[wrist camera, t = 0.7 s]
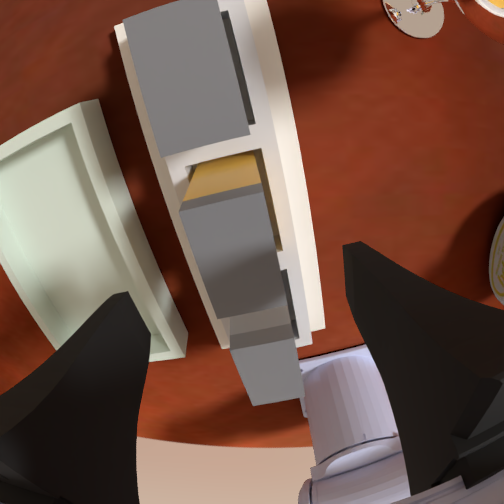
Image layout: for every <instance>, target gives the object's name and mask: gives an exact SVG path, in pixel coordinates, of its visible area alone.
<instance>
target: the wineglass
mask: <svg viewBox="0 0 504 504" xmlns="http://www.w3.org/2000/svg"><path fill="white" fill-rule="evenodd" d="M382 2H383V5H384V8H385V11H386V13H387V15H388V16H389V18H390V19H391V21H392V22H393V23H394V24H395V25H396V26H397V27H398V28H399V29H400V30H401V31H403V32H404V33H406V34H408V35H410V36H412V37H415V38H421V39H424V38H430V37H433V36H434V35H436V34H437V33H438V32H439V31H440V30H441V28H442V26H443V22H444V10H443V6H442V2H451V3H454V4H456V5H457V6H458V7H459V9H460V10H461V11H462V13H463V14H464V15H465V17H466V18H467V19H468V20H469V21H470V22H471V23H472V24H473V25H474V26H475V27H476V28H477V29H478V30H480V31H481V32H482V33H484V34H485V35H486V36H488V37H489V38H491V39H492V40H494V41H496V42H498V43H500V44H503V45H504V0H382Z"/></svg>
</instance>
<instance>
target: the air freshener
mask: <svg viewBox="0 0 504 504" xmlns="http://www.w3.org/2000/svg"><path fill="white" fill-rule="evenodd" d="M489 278H490V284H491V288H492V290H493V292H494V294H495V296H496V298H497V299H498V300H499V301H500V302H501V303H502V304H503V305H504V217H503V219H502V220H501V222H500V224H499V226H498V228H497V230H496V233H495V236H494V239H493V242H492V247H491V251H490V259H489Z"/></svg>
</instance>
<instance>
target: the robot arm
mask: <svg viewBox="0 0 504 504" xmlns="http://www.w3.org/2000/svg"><path fill="white" fill-rule="evenodd" d="M342 247H343V259H344V272H345V287H346V297H347V300H348V303H349V306H350V309H351V312H352V315H353V318H354V320H355V323H356V325H357V327H358V329H359V331H360V333H361V335H362V337H363V339H364V341H365V343H366V344H365V345H362V346H358V347H354V348H350V349H346V350H342V351H338V352H334V353H330V354H326V355H322V356H317V357H313V358H308V359H304V360H299V365H300V370H301V375H302V381H303V386H304V391H305V397H300V402H301V407H302V412H303V416H304V417H306V418H308V422H309V427H310V433H311V438H312V443H313V449H314V454H315V460H316V465H317V466H314V467H311V468H310V469H311V475H312V478H311V479H307V480H306V481H305V482H304V484H303V486H302V488H301V490H300V492H299V498H298V504H504V310H501V309H497V308H494V307H490V306H487V305H484V304H481V303H478V302H475V301H472V300H470V299H467V298H464V297H462V296H459V295H457V294H454V293H452V292H450V291H448V290H445V289H443V288H441V287H439V286H437V285H435V284H432V283H430V282H429V281H427V280H425V279H423V278H421V277H419V276H417V275H415V274H414V273H412V272H410V271H408V270H407V269H405V268H403V267H402V266H400V265H398V264H397V263H395V262H393V261H392V260H390V259H388V258H387V257H385V256H384V255H382V254H380V253H379V252H377V251H376V250H374V249H372V248H371V247H369V246H368V245H366V244H364V243H363V242H361V241H360V242H355V243H351V244H346V245H342ZM150 346H151V333H150V331H149V329H148V327H147V326H146V324H145V322H144V320H143V318H142V317H141V315H140V313H139V311H138V309H137V307H136V305H135V303H134V302H133V300H132V298H131V296H130V294H129V292H128V291H126V292H121V293H116V294H113V295H112V296H110V297H109V298H108V299H107V300H106V301H105V302H104V303H103V304H102V305H101V306H100V307H99V308H98V309H97V310H96V311H95V312H94V313H93V314H92V315H91V316H90V317H89V318H88V319H87V320H86V321H85V322H84V323H83V324H82V325H81V326H80V327H79V328H78V330H77V331H76V332H75V333H74V334H73V335H72V336H71V337H70V338H69V339H68V340H67V341H66V342H65V343H64V344H63V345H62V346H61V347H60V348H59V349H58V350H57V351H56V352H55V353H54V354H53V355H52V356H51V357H50V358H48V359H47V360H46V361H45V362H44V363H43V364H42V365H41V366H39V367H38V368H37V369H36V370H35V371H34V372H32V373H31V374H30V375H28V376H27V377H26V378H24V379H23V380H22V381H20V382H19V383H18V384H17V385H15V386H14V387H13V388H11V389H10V390H8V391H7V392H5V393H4V394H2V395H0V504H140V503H139V496H138V487H137V471H136V439H137V422H138V415H139V409H140V403H141V398H142V393H143V389H144V384H145V379H146V374H147V369H148V364H149V358H150Z"/></svg>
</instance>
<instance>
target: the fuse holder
mask: <svg viewBox="0 0 504 504" xmlns="http://www.w3.org/2000/svg"><path fill="white" fill-rule="evenodd" d="M217 1H218V5H219V9H220V13H221V17H222V20H223V24H224V28H225V32H226V36H227V40H228V44H229V48H230V52H231V56H232V60H233V64H234V68H235V72H236V76H237V80H238V84H239V88H240V92H241V96H242V100H243V105H244V109H245V113H246V117H247V121H248V126H249V130H250V134H251V135H247V136H243V137H239V138H234V139H230V140H226V141H222V142H218V143H214V144H210V145H206V146H202V147H198V148H195V149H191V150H187V151H184V152H180V153H177V154H173V155H170V156H166V157H163V158H161V157H160V154H159V151H158V147H157V144H156V141H155V137H154V134H153V131H152V127H151V124H150V121H149V117H148V114H147V110H146V107H145V103H144V100H143V96H142V93H141V89H140V86H139V82H138V78H137V75H136V71H135V67H134V63H133V60H132V56H131V52H130V48H129V44H128V40H127V36H126V32H125V28H124V24H123V23H121V24H119V25H116V26H114V28H115V32H116V36H117V40H118V44H119V48H120V52H121V56H122V60H123V64H124V67H125V71H126V75H127V79H128V82H129V86H130V89H131V93H132V97H133V100H134V104H135V107H136V110H137V114H138V117H139V121H140V124H141V127H142V131H143V134H144V137H145V140H146V144H147V147H148V150H149V153H150V156H151V159H152V163H153V166H154V169H155V172H156V175H157V178H158V181H159V184H160V187H161V190H162V193H163V196H164V199H165V202H166V205H167V207H168V210H169V213H170V216H171V219H172V222H173V225H174V227H175V230H176V233H177V236H178V238H179V241H180V244H181V247H182V249H183V252H184V255H185V257H186V260H187V263H188V265H189V268H190V271H191V273H192V276H193V279H194V281H195V284H196V286H197V289H198V291H199V294H200V296H201V299H202V302H203V304H204V307H205V309H206V312H207V314H208V316H209V319H210V321H211V324H212V326H213V329H214V331H215V334H216V336H217V338H218V341H219V343H220V345H221V348H222V349H225V348H230V317H227V318H221V319H217V317H216V314H215V312H214V309H213V306H212V304H211V301H210V299H209V296H208V293H207V291H206V288H205V285H204V283H203V280H202V277H201V275H200V272H199V269H198V266H197V264H196V261H195V258H194V255H193V252H192V250H191V247H190V244H189V241H188V238H187V235H186V233H185V230H184V227H183V224H182V221H181V218H180V215H179V209H180V207H181V204H182V202H183V199H184V197H185V194H186V192H187V189H188V187H189V184H190V182H191V179H192V177H193V175H194V172H195V170H196V167H197V165H198V163H200V162H204V161H208V160H212V159H216V158H220V157H224V156H228V155H232V154H236V153H241V152H245V151H249V150H253V152H254V156H255V160H256V164H257V168H258V171H259V175H260V179H261V183H262V187H263V191H264V196H265V200H266V205H267V209H268V214H269V218H270V223H271V228H272V232H273V237H274V242H275V246H276V251H277V256H278V260H279V265H280V270H281V275H282V280H283V284H284V289H285V294H286V299H287V304H288V305H287V306H288V311H289V315H290V320H291V325H292V329H293V334H294V339H295V344H296V347H301V346H306V345H310V344H312V337H311V331H316V330H320V329H325V321H324V311H323V302H322V294H321V285H320V277H319V269H318V261H317V254H316V247H315V239H314V233H313V226H312V219H311V212H310V206H309V200H308V194H307V187H306V181H305V176H304V170H303V164H302V158H301V153H300V147H299V142H298V137H297V132H296V126H295V121H294V116H293V111H292V106H291V102H290V97H289V92H288V87H287V83H286V78H285V74H284V69H283V65H282V61H281V56H280V52H279V48H278V44H277V39H276V35H275V31H274V27H273V23H272V19H271V15H270V12H269V8H268V4H267V0H217Z"/></svg>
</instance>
